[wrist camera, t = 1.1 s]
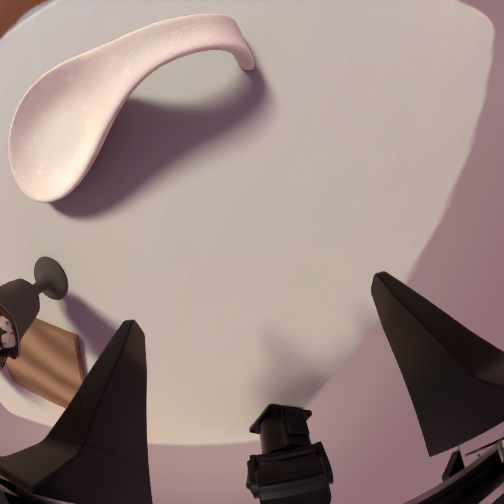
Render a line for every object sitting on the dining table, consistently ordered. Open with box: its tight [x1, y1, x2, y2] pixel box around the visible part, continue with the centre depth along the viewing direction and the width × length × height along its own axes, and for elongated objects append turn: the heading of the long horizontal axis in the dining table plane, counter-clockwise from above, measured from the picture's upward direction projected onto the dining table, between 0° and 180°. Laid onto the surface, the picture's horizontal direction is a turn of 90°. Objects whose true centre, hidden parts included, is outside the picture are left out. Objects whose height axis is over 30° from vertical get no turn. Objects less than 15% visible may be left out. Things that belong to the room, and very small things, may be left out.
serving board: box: [6, 318, 85, 408], centre depth 26 cm, size 16×16×1 cm
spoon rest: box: [8, 14, 255, 203], centre depth 15 cm, size 24×12×7 cm, turn 112°
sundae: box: [0, 257, 67, 370], centre depth 16 cm, size 7×7×15 cm
